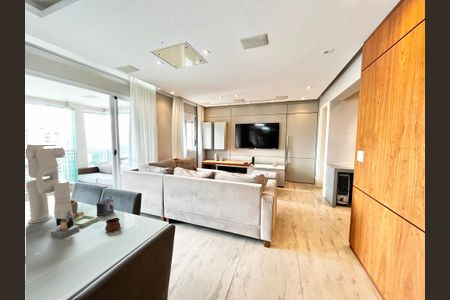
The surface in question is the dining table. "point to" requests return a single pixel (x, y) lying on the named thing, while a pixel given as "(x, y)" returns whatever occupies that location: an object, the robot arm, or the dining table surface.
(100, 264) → the dining table surface
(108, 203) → the small box
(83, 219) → the parts tray
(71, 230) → the holder block
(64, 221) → the fuse
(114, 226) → the ceramic pot
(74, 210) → the stone cup
